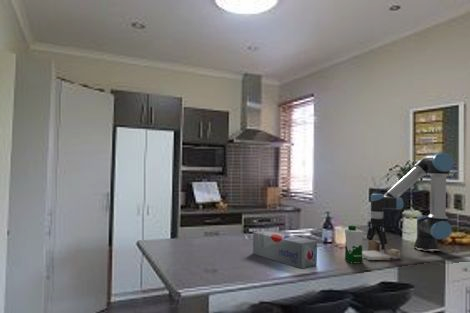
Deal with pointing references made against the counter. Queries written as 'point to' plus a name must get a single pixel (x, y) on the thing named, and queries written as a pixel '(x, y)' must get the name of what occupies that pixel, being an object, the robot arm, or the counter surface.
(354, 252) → the soya milk
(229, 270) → the counter surface
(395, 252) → the maple block
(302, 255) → the soda pack
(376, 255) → the tile
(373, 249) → the walnut cube
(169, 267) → the counter surface
